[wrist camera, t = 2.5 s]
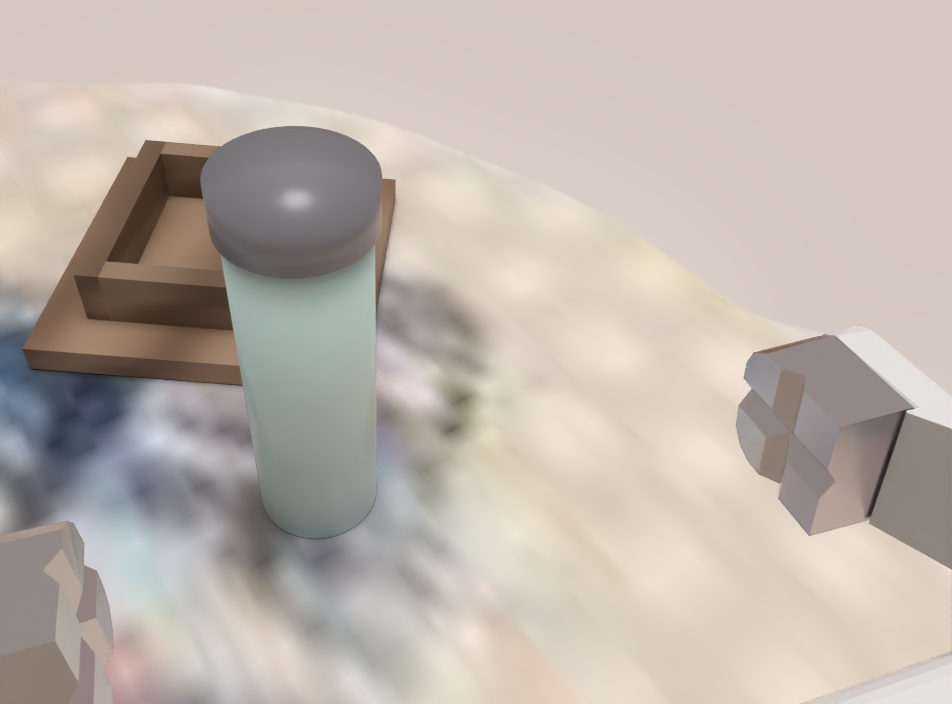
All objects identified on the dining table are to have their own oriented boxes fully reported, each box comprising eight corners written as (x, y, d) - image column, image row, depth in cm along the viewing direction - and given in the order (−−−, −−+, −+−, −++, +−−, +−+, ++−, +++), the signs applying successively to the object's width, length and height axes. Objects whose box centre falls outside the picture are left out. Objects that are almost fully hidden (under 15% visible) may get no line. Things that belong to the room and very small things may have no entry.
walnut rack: (30, 368, 38) (3, 304, 35) (132, 176, 47) (117, 114, 45) (362, 394, 38) (360, 333, 35) (395, 198, 48) (396, 138, 45)
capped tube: (243, 538, 33) (178, 222, 22) (270, 436, 36) (224, 119, 26) (374, 547, 33) (370, 238, 22) (388, 445, 36) (390, 133, 26)
